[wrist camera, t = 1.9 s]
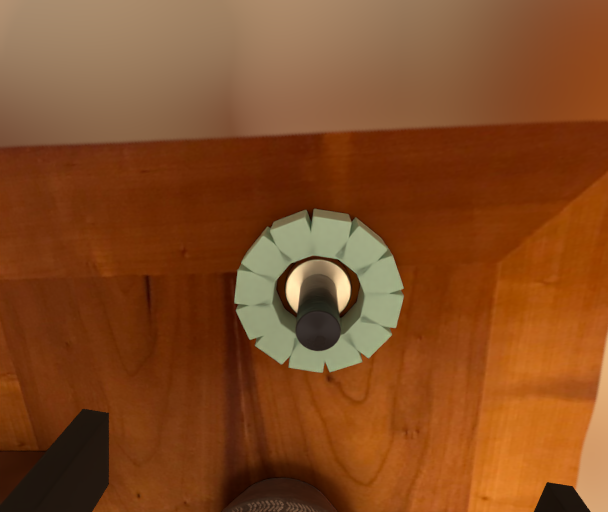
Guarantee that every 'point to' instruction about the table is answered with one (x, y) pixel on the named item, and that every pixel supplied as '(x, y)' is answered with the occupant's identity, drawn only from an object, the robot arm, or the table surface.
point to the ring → (325, 243)
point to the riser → (15, 469)
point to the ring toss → (318, 300)
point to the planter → (280, 498)
